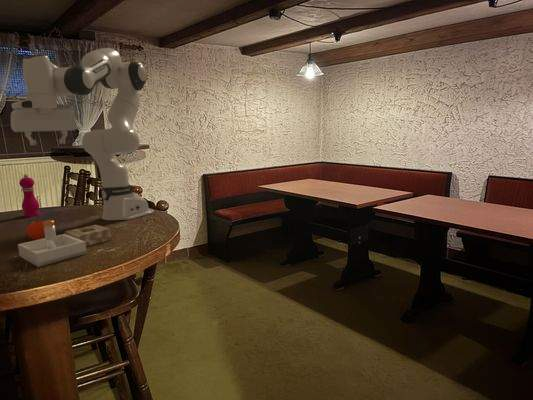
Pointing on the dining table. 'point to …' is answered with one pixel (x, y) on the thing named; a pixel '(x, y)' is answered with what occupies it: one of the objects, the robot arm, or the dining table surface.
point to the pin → (50, 234)
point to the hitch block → (91, 234)
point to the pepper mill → (29, 197)
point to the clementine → (36, 230)
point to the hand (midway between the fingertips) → (48, 144)
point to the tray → (52, 250)
